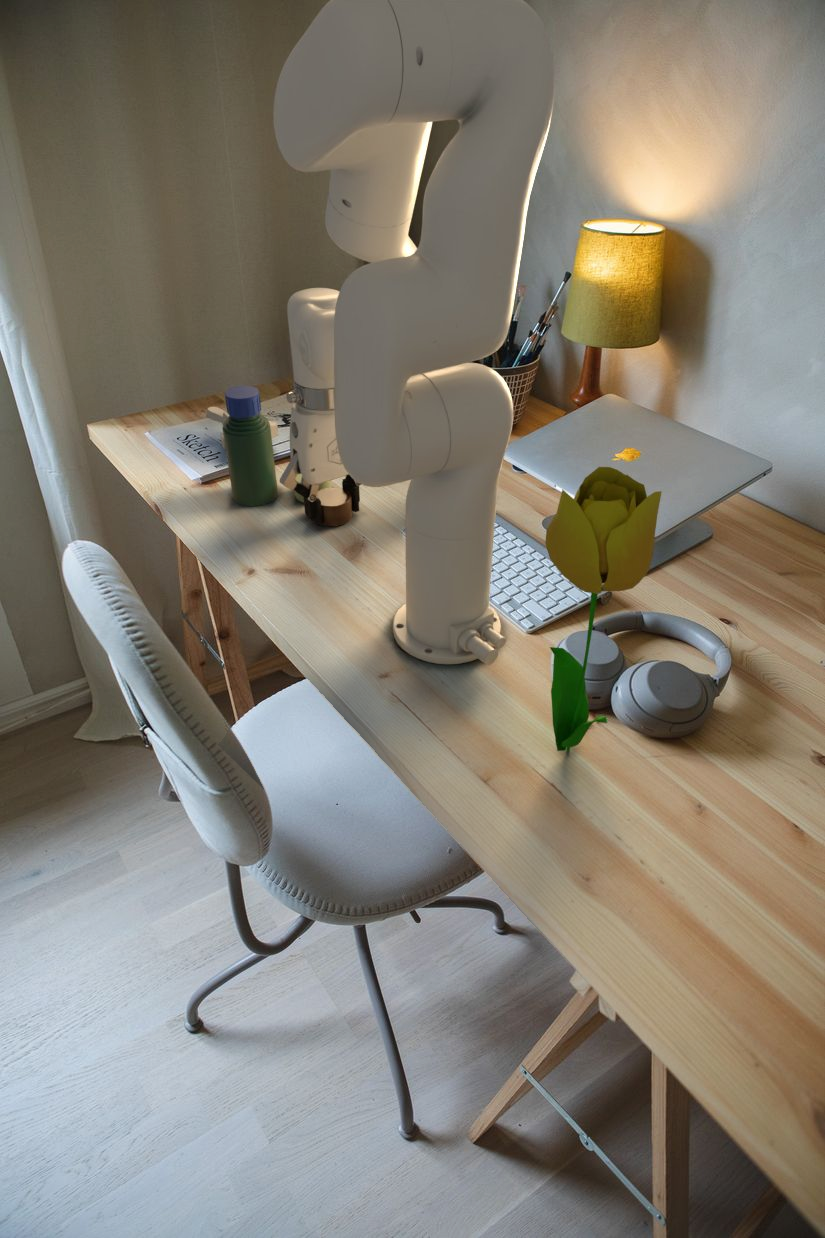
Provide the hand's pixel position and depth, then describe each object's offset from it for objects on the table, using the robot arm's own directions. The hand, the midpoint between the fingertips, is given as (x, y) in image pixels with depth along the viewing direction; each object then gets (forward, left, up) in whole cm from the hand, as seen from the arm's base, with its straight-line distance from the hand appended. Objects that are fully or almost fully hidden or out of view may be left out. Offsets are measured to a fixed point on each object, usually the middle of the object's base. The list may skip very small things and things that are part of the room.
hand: (333, 513), depth 117 cm
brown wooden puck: (0, 0, 0) cm, 0 cm away
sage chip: (+7, -1, -1) cm, 7 cm away
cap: (+12, +6, +15) cm, 20 cm away
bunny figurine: (+29, -1, -1) cm, 29 cm away
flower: (-52, +5, -1) cm, 52 cm away
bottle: (+12, +6, -1) cm, 14 cm away
